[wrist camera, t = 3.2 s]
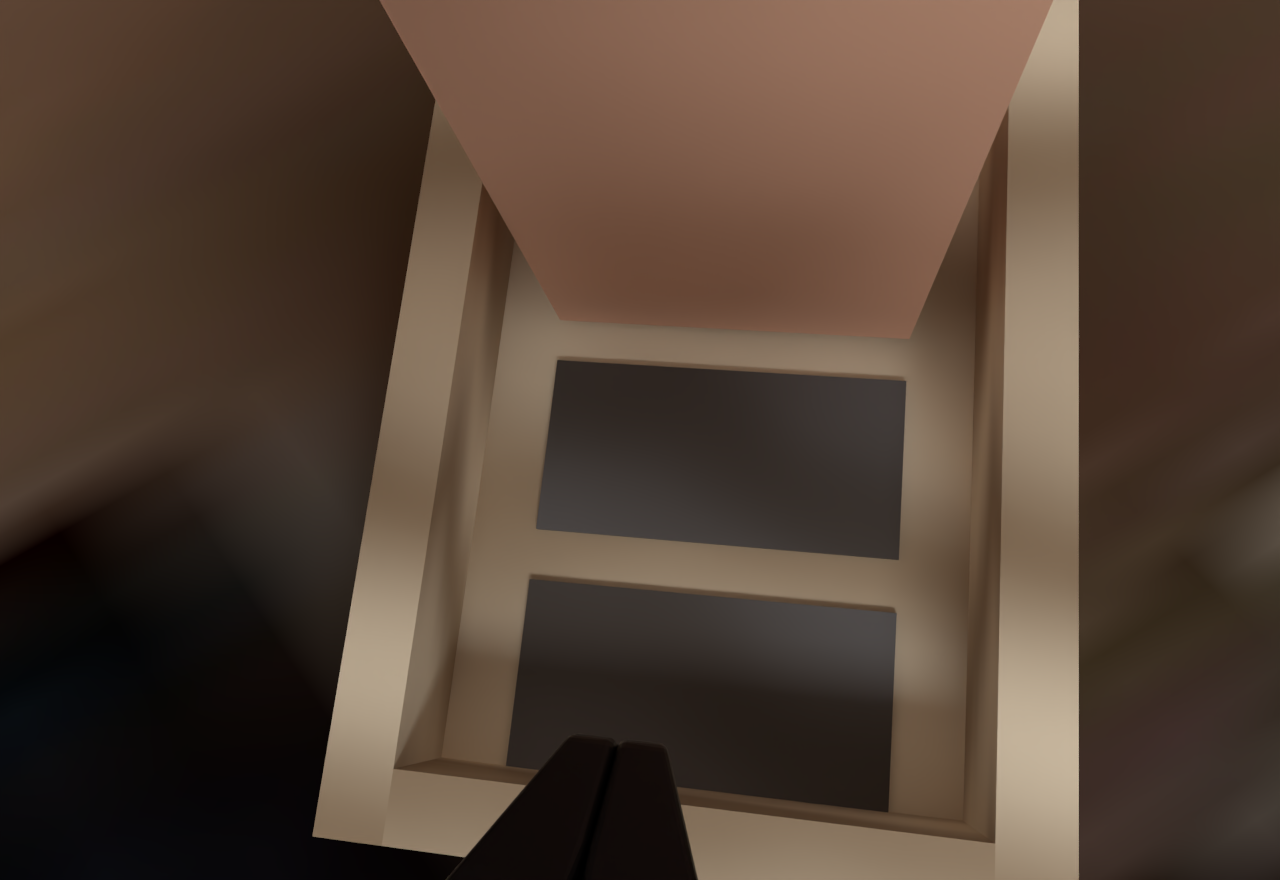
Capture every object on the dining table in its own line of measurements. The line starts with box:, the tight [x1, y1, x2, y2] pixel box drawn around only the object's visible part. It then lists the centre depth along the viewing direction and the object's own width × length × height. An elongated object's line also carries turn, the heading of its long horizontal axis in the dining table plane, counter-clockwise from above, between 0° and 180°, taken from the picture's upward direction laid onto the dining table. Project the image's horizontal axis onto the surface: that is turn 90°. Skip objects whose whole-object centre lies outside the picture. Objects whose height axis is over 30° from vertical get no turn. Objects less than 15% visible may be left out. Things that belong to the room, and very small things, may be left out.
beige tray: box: [313, 0, 1079, 880], centre depth 20 cm, size 24×12×4 cm, turn 174°
